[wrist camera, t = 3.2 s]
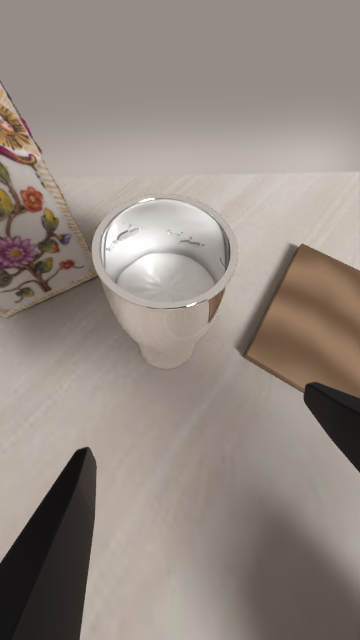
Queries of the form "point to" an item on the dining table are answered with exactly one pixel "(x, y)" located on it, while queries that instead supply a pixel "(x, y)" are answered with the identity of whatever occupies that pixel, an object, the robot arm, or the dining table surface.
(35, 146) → the decorative jar
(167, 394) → the dining table surface
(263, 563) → the dining table surface
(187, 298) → the silver metal tumbler
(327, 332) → the walnut serving board
